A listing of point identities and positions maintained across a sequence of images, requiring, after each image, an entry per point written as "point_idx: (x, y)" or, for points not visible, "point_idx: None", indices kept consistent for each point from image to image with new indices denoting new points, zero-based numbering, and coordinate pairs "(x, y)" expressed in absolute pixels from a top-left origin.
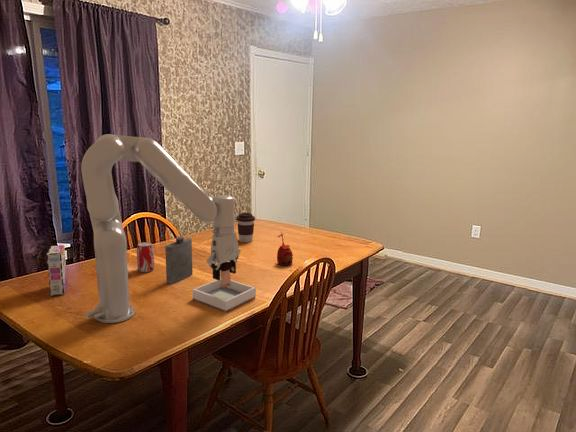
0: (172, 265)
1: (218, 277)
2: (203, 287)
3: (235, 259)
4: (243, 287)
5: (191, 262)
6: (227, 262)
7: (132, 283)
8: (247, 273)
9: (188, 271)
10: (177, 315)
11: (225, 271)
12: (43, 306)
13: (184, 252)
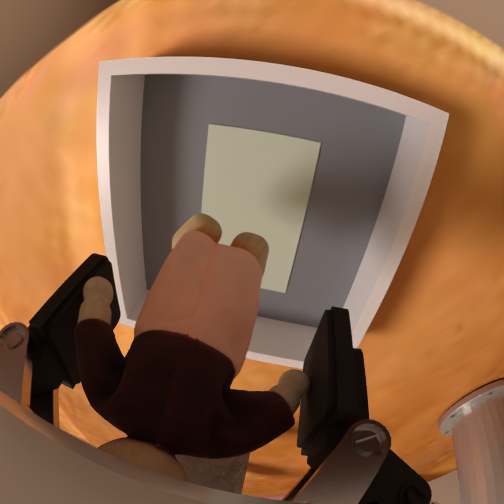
0: (230, 475)
1: (348, 333)
2: (277, 350)
3: (2, 362)
4: (119, 159)
5: None
6: (125, 425)
7: (297, 460)
8: (17, 264)
9: None
10: (490, 299)
11: (210, 341)
12: (438, 466)
13: None
